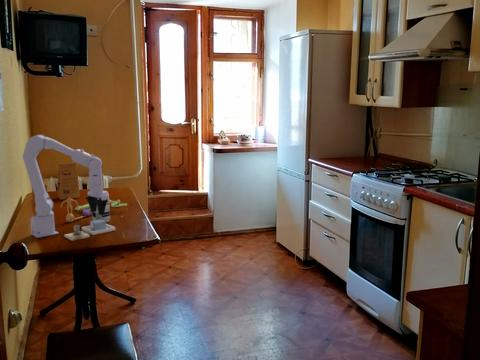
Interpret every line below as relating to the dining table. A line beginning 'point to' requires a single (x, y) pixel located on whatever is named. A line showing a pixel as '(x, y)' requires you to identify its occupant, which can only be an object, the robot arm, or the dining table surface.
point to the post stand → (77, 234)
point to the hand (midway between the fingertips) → (97, 213)
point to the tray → (108, 229)
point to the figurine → (69, 216)
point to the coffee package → (68, 181)
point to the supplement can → (106, 213)
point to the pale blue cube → (97, 225)
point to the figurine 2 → (88, 211)
